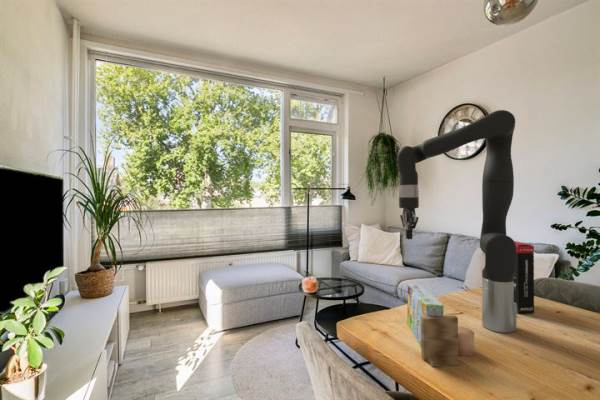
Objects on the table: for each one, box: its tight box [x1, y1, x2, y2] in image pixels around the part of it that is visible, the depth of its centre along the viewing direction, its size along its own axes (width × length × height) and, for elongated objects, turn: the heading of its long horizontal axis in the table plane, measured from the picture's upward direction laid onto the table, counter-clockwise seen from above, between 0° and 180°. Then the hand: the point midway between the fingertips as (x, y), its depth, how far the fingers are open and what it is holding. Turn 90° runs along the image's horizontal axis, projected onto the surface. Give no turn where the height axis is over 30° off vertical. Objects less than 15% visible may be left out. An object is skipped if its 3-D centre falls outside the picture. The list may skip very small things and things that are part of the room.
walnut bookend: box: [420, 315, 462, 367], centre depth 85 cm, size 10×5×12 cm, turn 92°
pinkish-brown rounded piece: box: [458, 326, 475, 357], centre depth 90 cm, size 6×6×6 cm
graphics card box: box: [514, 240, 535, 315], centre depth 123 cm, size 17×7×27 cm, turn 179°
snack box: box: [406, 283, 444, 347], centre depth 98 cm, size 21×6×15 cm, turn 175°
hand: (409, 238), depth 121 cm, fingers closed
